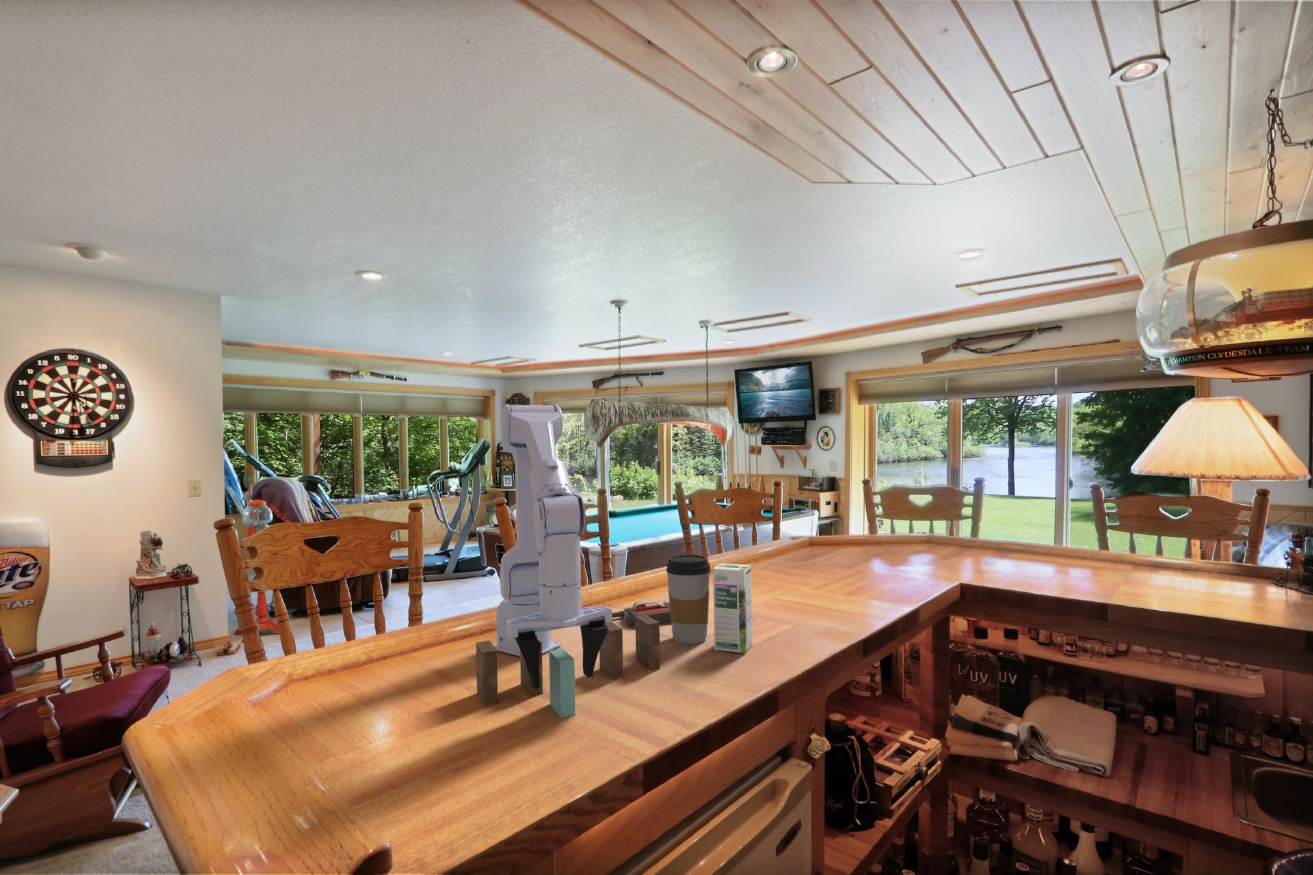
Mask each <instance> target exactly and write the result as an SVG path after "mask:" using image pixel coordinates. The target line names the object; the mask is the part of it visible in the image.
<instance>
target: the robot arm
mask: <svg viewBox="0 0 1313 875" xmlns="http://www.w3.org/2000/svg"><path fill="white" fill-rule="evenodd" d="M500 412H501V414H500V429H501V430H500V431H501V432H500V433H501V434H500V435H501V446H502V450H503V451H505V452H507V453H509V454H512V458H513V461H514V466H515V467H514V468H515V471H514V473H515V474H514V476H515V477H514V478H515V480H514V481H515V527H516V528H515V530H516V536H515V537H516V543H515V545H513V547H511V548H510V549H508V550H507V551H506V552H505V553H504V554H503V555H502V557H501V559H500V569H499V586H500V587H499V588H500V594H501V598H503V599H502V600H501V601H500V603H499V605H498V608H497V610H496V617H495V618H496V620H495V621H496V645H494V647H495V648H496V649H497V652H501V653H505V654H510V655H512V656H513V655H514V656H516V657H517V656H518V657H520V650H521V652H522V655H523V657H524V660H525V663H526V666H527V669H528V673H529V678H530V685H531V686H532V687H533V689H539V686H540V678H539V652H540V644H541V643H540V642H539V641H538V640H537V638H538V639H539V640H540V641H541V642H542V655H543V654H546V653H549V651H551V650H556V649H558V648H559V647H561V646H562V643H561V642H558V641H553V640H552V639H551V638H552V635H551V633H552V632H551V631H554V630H562V629H567V628H572V627H574V628H575V627H579V626H580V634H581V643H582V644H581V645H582V672H583V675H584V676H585V677H586V678H588V679H592V678H594V671H595V667H596V662H597V659H598V655H599V650H600V647H601V645H602V643H603V641H604V639H605V637H606V635H607V633H608V627H607V626H606V625H605V623H608V622H613V618H612V613H613V612H612V610H613V609H612V607H609V606H608V605H599V606H582V574H581V570H582V568H581V566H582V564H581V537H580V536H583V535H584V533H585V529H586V527H585V526H586V509H585V504H584V499H583V497H582V495H581V494H580V493H578V490H574V489H573V485H572V483H571V478H570V476H569V471H568V467H567V465H566V464H565V463H564V462H563V461H561V460H559V459H558V456H557V450H556V446H557V444H558V443H559V440H560V439H561V437H562V435H563V431H564V430H563V429H564V418H563V417H564V416H563V412H562V409H561V407H560V406H559V405H558V404H556V403H555V404H554V403H553V405H550V404H549V405H547V404H546V405H545V404H543V405H540V404H539V405H538V404H537V405H536V404H533V405H531V404H527V405H526V404H523V405H522V404H519V405H518V404H508V403H506V404H504V406H502V408H501V411H500Z"/></svg>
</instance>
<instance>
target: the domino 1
mask: <svg viewBox="0 0 1313 875" xmlns="http://www.w3.org/2000/svg"><path fill="white" fill-rule="evenodd" d="M475 644H476V645H475V647H476V648H475V650H476V651H475V654H476V658H475V660H476V694H477V696H478V698H479V700H480V699H481V700H480V702H481V701H482V702H481V704H482V705H483V707H485V706H490V705H495V704H499V686H498V685H499V684H498V683H499V682H498V651H497V649H496V648H495V645H494V644H493V643H492V641H491V640H490V639H489V640H484V641H483V640H482V641H478V642H476V643H475Z"/></svg>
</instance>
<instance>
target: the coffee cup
mask: <svg viewBox="0 0 1313 875" xmlns="http://www.w3.org/2000/svg"><path fill="white" fill-rule="evenodd" d="M665 571H666V574H667V583H668V584H667V586H668V589H667V591H668V602H669V605H670V616H671V623H670V624H671V633H672V637H673V640H674V641H675V642H676V643H678V644H682V645H698V644H701V643H703V642H705V641H706V638H707V637H708V624H709V610H710V609H709V607H710V606H709V603H710V573H711V571H712V570H711V563H710V562H709V558H708V557H707V556H705V555H700V554H699V555H698V554H679V555H673V556H670V557H669V558H668V562H667V564H666V570H665Z"/></svg>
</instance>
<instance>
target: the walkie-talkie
mask: <svg viewBox="0 0 1313 875" xmlns="http://www.w3.org/2000/svg"><path fill="white" fill-rule="evenodd" d="M662 601H663V602H664V603H663V602H661V603H660V602H659V603H658V602H657V601H655V600H653V599H650V600H643V601H642V600H641V601H636V602H634V603H633V604H632V606H630V607H629V606H628V607H623V610H619V611H616V612H615V611H614V612H612V619H615V618H622V619H623V622H625V621H626V622H627V625H628V626H632V625H633V626H634V627H635V617H636V616H642V615H647V616H649V617H651V618H652V619H654V620H656V621H658V622H659V626H661V625H662V624H663V625H666V624H665V623H670V624H672V623H671V616H670V605H669V600H666V599H664V600H662ZM660 624H661V625H660ZM633 626H632V627H633Z"/></svg>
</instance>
